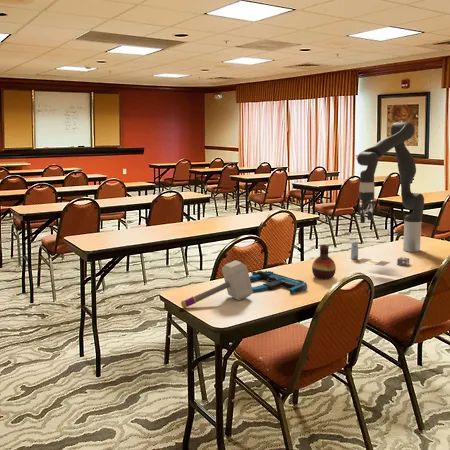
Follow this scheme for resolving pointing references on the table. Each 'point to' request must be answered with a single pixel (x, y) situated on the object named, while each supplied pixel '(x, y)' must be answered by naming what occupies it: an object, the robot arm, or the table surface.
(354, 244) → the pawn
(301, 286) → the submachine gun
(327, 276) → the vase
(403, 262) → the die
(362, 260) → the board
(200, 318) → the table surface
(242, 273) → the hammer
